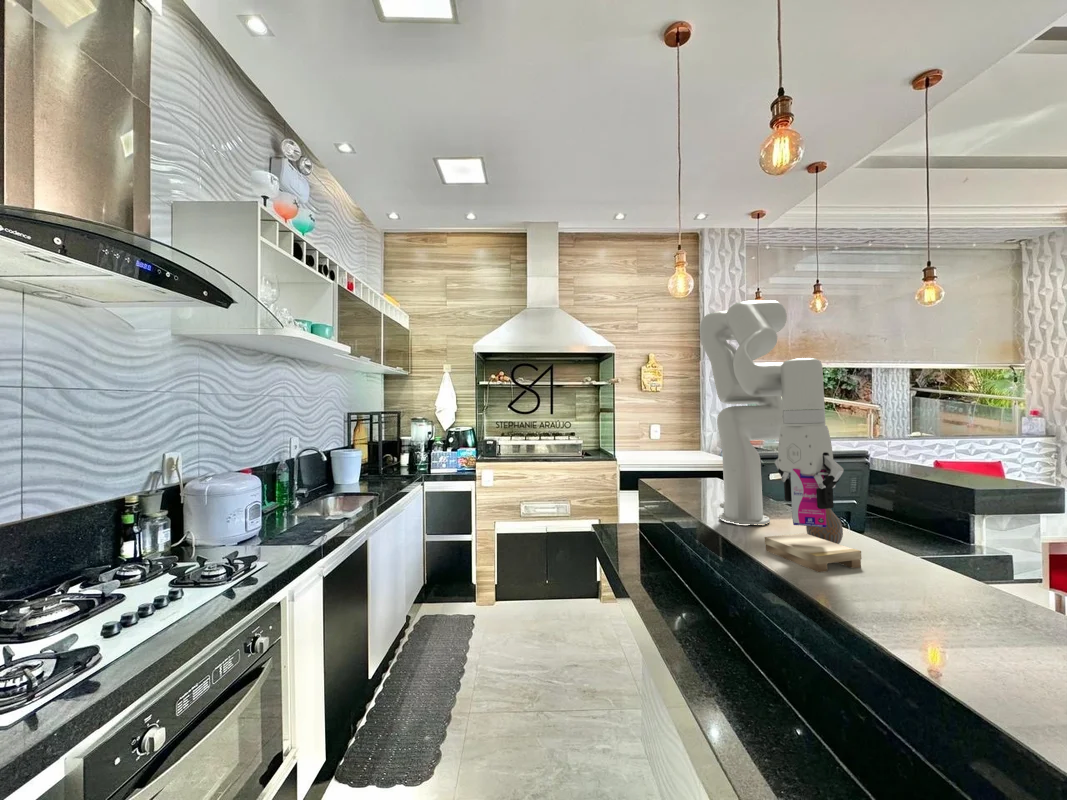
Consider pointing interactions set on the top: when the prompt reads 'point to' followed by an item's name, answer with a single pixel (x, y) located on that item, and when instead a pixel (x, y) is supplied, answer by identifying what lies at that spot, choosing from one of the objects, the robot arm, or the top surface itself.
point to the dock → (812, 551)
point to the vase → (828, 529)
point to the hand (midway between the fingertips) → (808, 503)
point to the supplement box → (806, 500)
